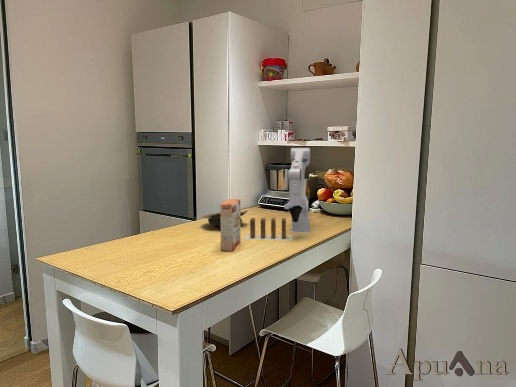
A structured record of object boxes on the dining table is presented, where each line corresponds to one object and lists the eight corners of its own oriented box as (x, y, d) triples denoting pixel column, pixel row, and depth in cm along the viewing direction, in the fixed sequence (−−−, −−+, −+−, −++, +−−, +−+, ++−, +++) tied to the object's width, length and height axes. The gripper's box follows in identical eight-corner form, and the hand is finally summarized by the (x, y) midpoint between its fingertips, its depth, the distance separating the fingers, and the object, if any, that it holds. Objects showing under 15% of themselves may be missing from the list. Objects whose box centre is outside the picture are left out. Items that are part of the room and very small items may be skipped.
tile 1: (285, 236, 192) (285, 218, 190) (285, 239, 187) (285, 220, 185) (282, 236, 192) (282, 218, 190) (281, 238, 187) (281, 220, 186)
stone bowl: (243, 232, 202) (241, 214, 201) (197, 234, 207) (195, 217, 205) (251, 220, 226) (250, 205, 225) (210, 223, 231) (208, 207, 229)
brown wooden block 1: (255, 235, 193) (255, 217, 192) (254, 238, 188) (253, 220, 187) (251, 235, 193) (251, 217, 192) (250, 238, 189) (250, 220, 187)
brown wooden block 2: (265, 236, 193) (265, 218, 191) (264, 238, 188) (264, 220, 186) (261, 235, 193) (261, 218, 192) (260, 238, 188) (260, 220, 187)
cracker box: (233, 251, 170) (232, 204, 166) (220, 251, 171) (219, 203, 168) (241, 242, 183) (240, 198, 180) (229, 242, 184) (228, 198, 181)
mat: (292, 236, 193) (292, 235, 193) (291, 241, 185) (291, 240, 184) (246, 235, 196) (246, 234, 196) (243, 240, 187) (243, 239, 187)
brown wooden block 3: (275, 236, 192) (275, 218, 191) (275, 238, 187) (274, 220, 186) (271, 236, 192) (271, 218, 191) (271, 238, 187) (271, 220, 186)
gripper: (297, 191, 193) (297, 218, 195) (279, 194, 183) (279, 223, 185) (309, 192, 189) (309, 220, 191) (291, 196, 178) (291, 225, 180)
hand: (295, 221), depth 187 cm, fingers closed
